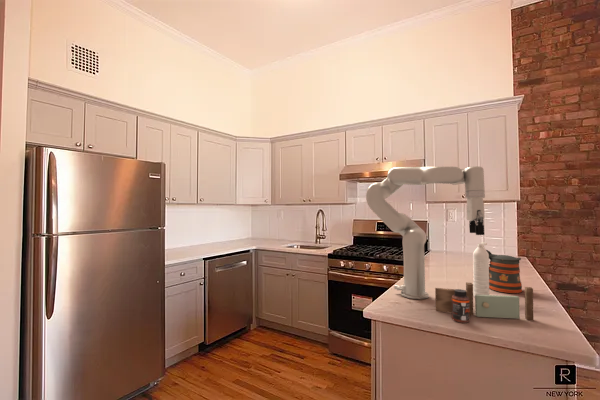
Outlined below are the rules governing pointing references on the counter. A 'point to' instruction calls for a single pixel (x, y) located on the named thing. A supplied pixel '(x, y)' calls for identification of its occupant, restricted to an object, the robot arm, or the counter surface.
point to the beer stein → (504, 273)
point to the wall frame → (445, 300)
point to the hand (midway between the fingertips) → (476, 233)
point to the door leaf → (497, 306)
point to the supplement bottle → (460, 306)
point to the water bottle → (480, 271)
